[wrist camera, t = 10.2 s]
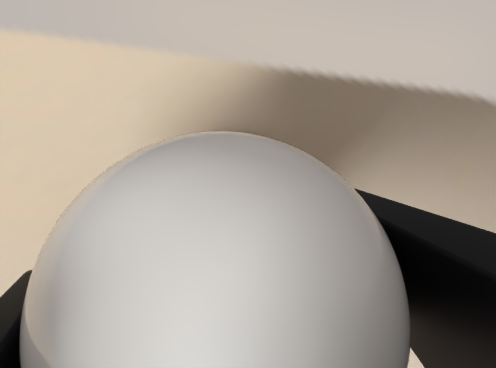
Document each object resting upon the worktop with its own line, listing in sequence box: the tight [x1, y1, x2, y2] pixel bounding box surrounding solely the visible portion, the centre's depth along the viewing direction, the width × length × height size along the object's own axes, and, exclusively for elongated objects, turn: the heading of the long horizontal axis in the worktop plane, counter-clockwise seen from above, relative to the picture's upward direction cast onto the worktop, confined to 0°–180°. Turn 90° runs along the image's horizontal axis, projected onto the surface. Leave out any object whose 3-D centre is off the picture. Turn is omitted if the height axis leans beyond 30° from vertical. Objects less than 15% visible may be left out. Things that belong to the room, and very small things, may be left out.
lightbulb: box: [19, 131, 411, 368], centre depth 9 cm, size 6×6×11 cm
